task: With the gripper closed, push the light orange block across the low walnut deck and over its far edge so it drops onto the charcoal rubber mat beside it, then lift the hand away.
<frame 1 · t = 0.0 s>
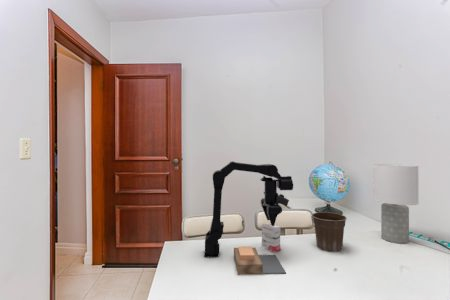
hand: (270, 222, 116), 15 cm above the table, tool pointing down, fingers open, 9 cm apart
light orange block: (246, 255, 104), point 4 cm above the table, touching deck
ink box: (270, 248, 122), on the table
plant pot: (328, 247, 124), on the table
mat: (269, 264, 105), on the table
deck: (247, 264, 104), on the table
lamp: (394, 240, 135), on the table
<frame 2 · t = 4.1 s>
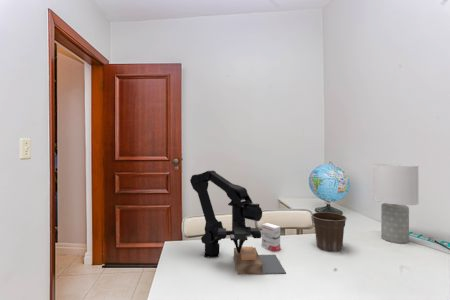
hand: (238, 253, 104), 5 cm above the table, tool pointing down, fingers closed
light orange block: (247, 255, 105), point 4 cm above the table
everything else where it was.
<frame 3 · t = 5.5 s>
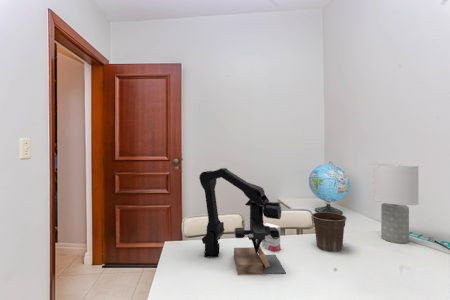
hand: (256, 252, 105), 5 cm above the table, tool pointing down, fingers closed
light orange block: (260, 257, 105), point 3 cm above the table, tilted 61°, touching gripper, mat
everything else where it was.
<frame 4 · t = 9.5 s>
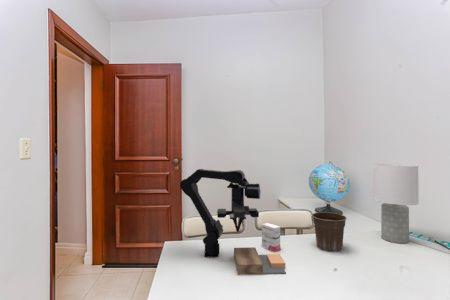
hand: (237, 231, 111), 12 cm above the table, tool pointing down, fingers closed
light orange block: (275, 258, 105), point 2 cm above the table, tilted 180°, touching mat
everything else where it was.
at the end: light orange block inside the target area on the mat (2.6 cm from its centre), point 2.5 cm above the mat's base; light orange block touching mat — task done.
